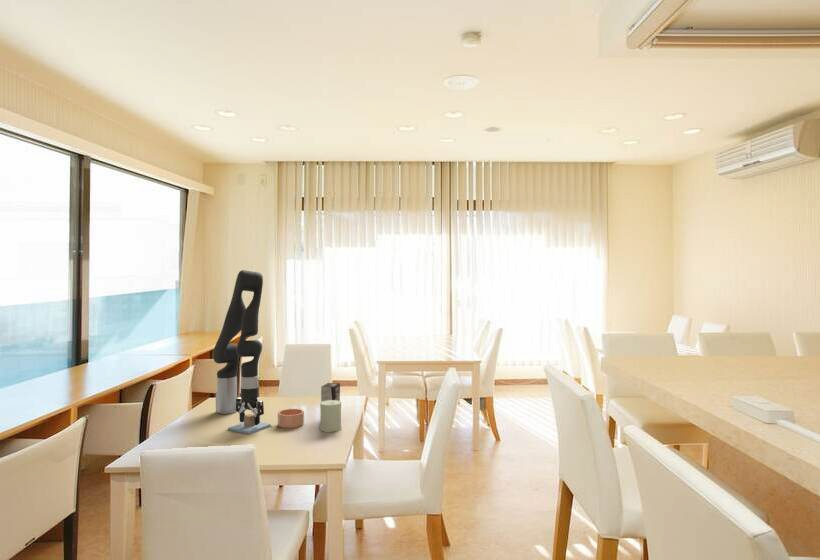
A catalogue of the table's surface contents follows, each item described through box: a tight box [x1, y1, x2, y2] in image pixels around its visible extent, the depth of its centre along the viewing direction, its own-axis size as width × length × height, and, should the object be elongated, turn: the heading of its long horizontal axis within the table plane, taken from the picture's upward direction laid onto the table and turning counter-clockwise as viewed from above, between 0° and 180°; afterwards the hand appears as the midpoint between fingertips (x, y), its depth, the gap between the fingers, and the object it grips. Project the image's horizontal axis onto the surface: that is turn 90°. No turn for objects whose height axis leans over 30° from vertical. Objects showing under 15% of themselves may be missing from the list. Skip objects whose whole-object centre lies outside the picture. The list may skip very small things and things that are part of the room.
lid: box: [227, 413, 272, 435], centre depth 224 cm, size 12×12×6 cm
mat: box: [226, 425, 273, 436], centre depth 224 cm, size 14×14×1 cm
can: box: [319, 400, 342, 433], centre depth 224 cm, size 9×9×12 cm
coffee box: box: [320, 382, 341, 403], centre depth 239 cm, size 9×6×16 cm
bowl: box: [277, 408, 305, 429], centre depth 229 cm, size 11×11×6 cm
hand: (249, 423), depth 224 cm, fingers open, 8 cm apart
